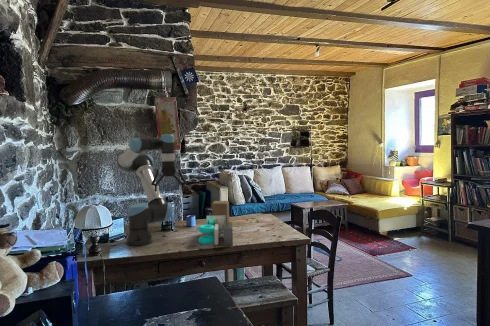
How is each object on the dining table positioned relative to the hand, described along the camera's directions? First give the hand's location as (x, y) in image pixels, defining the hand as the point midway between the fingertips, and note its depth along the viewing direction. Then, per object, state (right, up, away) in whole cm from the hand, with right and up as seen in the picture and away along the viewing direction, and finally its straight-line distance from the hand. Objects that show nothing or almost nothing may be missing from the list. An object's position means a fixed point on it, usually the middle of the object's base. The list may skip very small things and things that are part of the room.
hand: (169, 196), depth 203 cm
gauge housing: (+29, -28, +7) cm, 41 cm away
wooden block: (+28, -26, +29) cm, 48 cm away
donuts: (+21, -28, +5) cm, 36 cm away
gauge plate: (+27, -27, +6) cm, 39 cm away
